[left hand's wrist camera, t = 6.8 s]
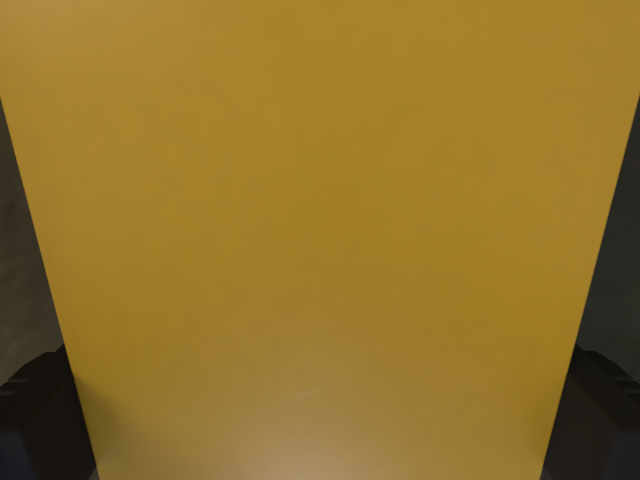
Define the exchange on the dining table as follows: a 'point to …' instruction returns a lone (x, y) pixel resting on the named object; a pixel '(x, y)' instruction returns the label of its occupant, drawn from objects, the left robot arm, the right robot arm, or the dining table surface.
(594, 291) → the dining table surface
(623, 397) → the left robot arm
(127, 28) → the cabinet
